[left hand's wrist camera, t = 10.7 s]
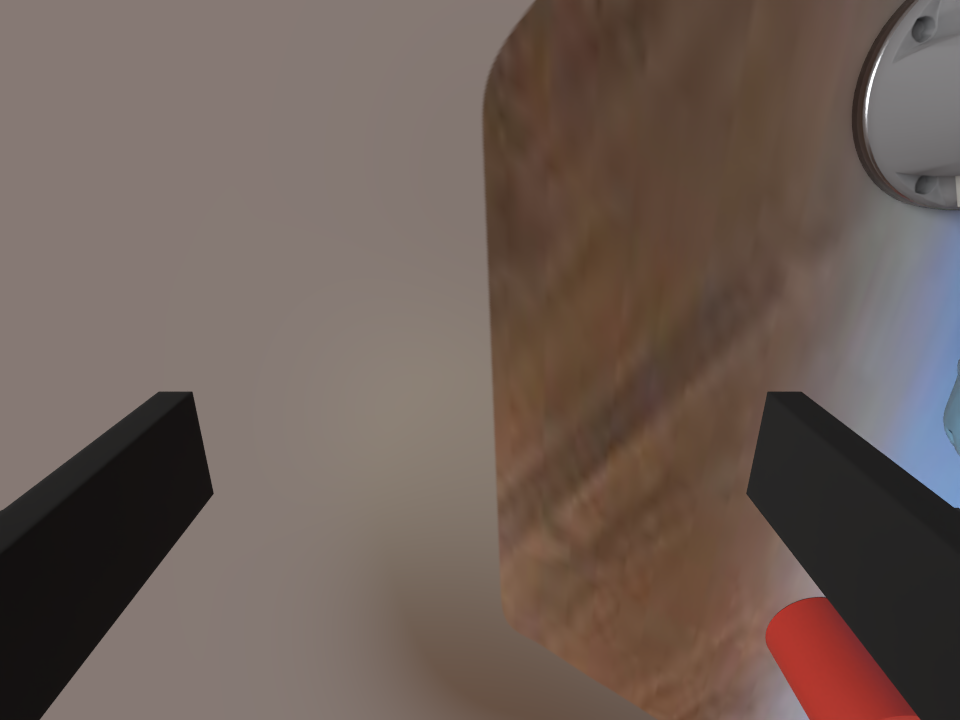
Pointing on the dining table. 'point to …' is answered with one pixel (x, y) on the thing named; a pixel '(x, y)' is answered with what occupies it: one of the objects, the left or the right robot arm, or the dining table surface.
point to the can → (831, 666)
